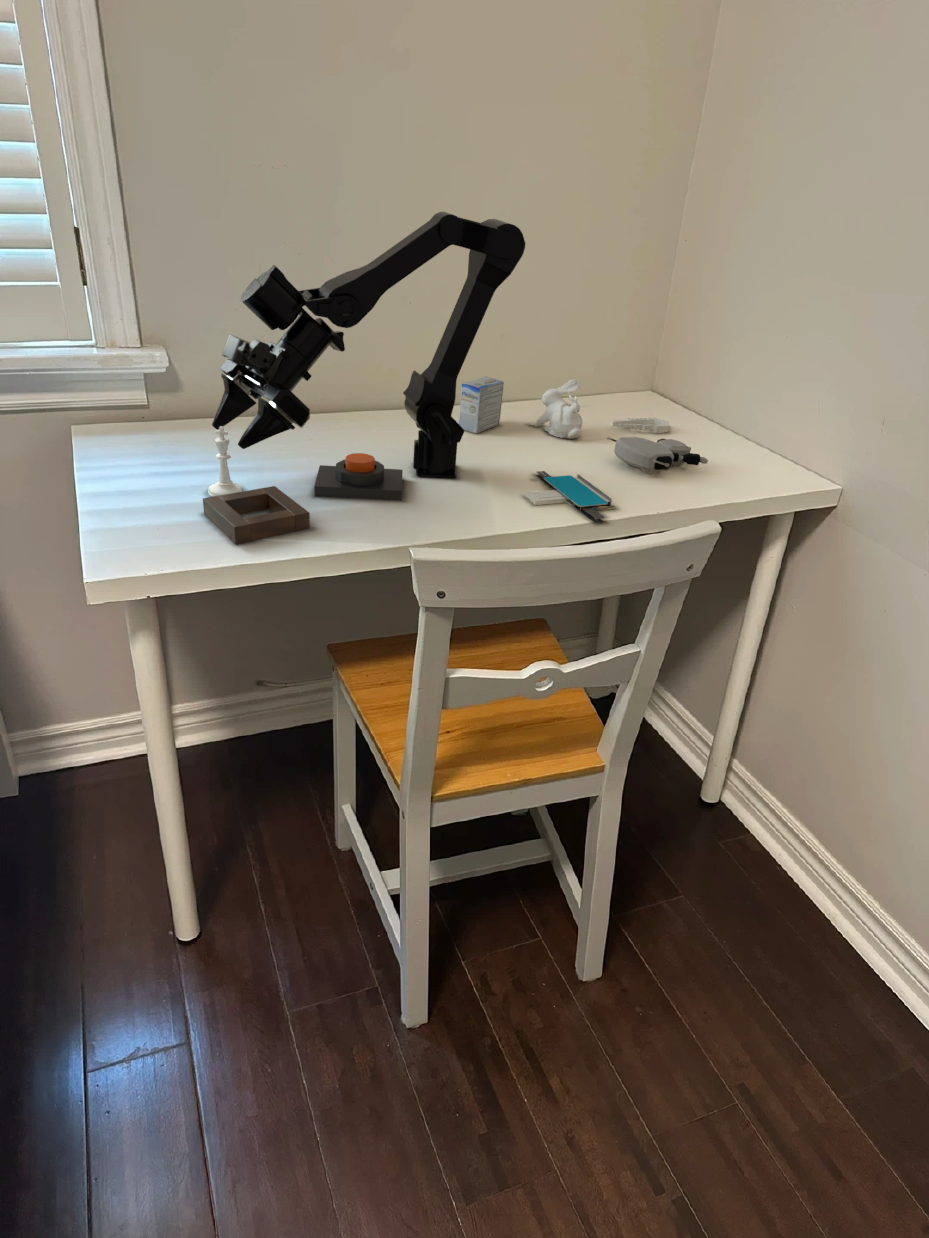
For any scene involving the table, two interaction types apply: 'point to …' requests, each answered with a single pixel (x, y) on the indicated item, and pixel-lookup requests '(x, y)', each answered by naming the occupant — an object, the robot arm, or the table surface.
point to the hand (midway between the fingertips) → (227, 437)
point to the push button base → (358, 483)
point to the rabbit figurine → (561, 412)
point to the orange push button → (360, 462)
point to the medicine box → (480, 404)
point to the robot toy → (655, 453)
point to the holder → (242, 530)
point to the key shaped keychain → (643, 424)
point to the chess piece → (223, 468)
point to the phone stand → (572, 495)
